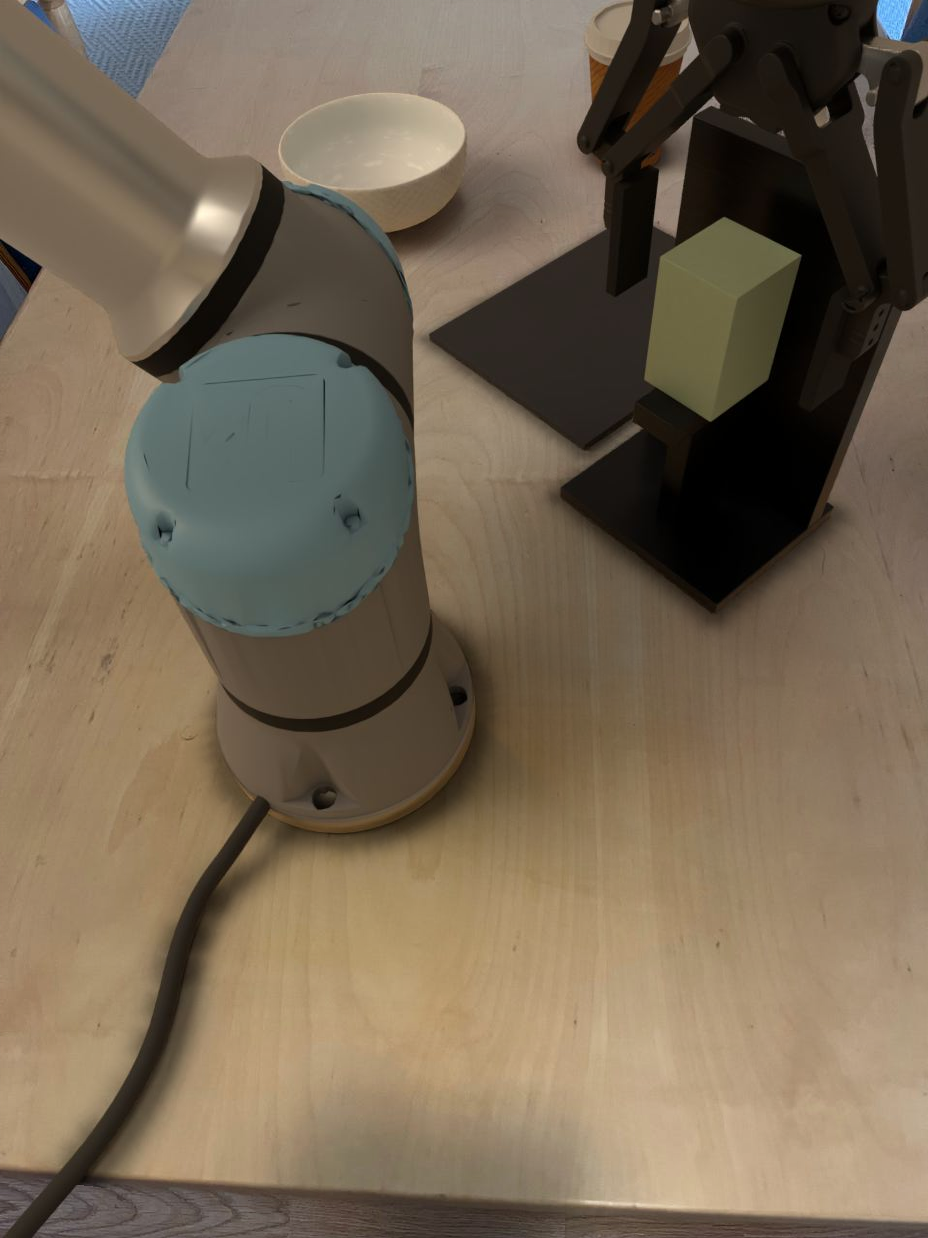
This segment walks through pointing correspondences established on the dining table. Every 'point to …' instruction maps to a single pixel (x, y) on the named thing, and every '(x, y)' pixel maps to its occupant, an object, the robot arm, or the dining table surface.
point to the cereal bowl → (380, 154)
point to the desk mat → (565, 340)
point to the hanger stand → (757, 424)
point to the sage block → (718, 316)
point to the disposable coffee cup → (604, 44)
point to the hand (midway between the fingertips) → (717, 337)
